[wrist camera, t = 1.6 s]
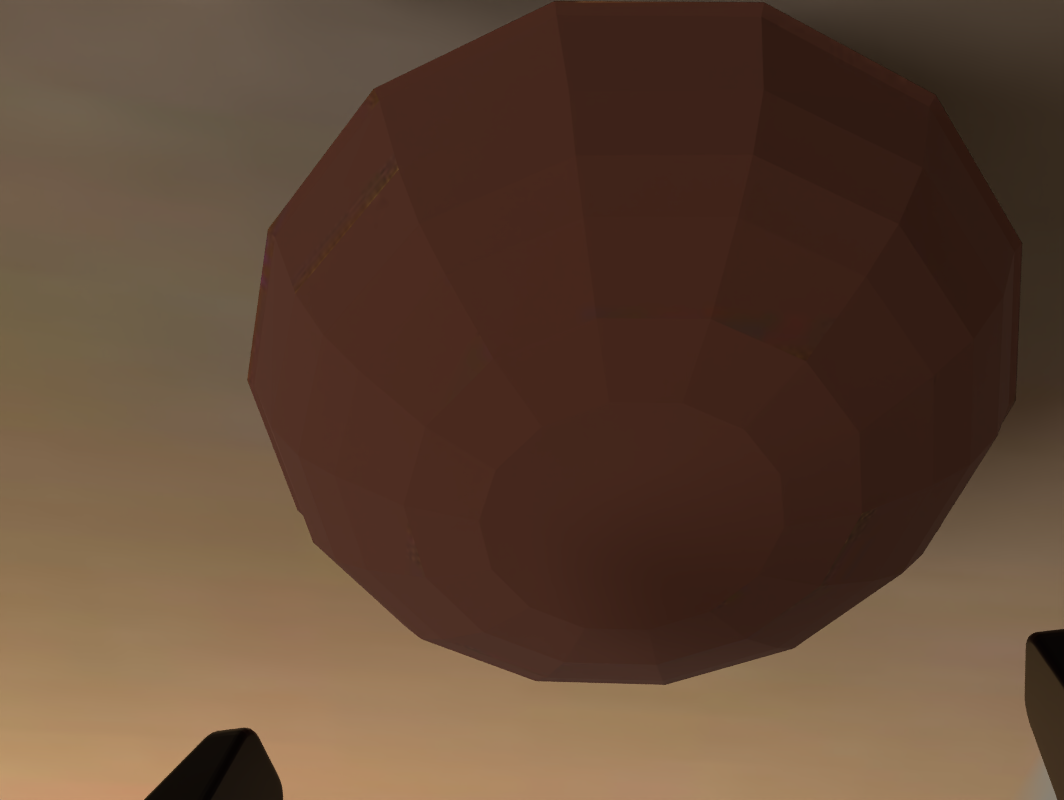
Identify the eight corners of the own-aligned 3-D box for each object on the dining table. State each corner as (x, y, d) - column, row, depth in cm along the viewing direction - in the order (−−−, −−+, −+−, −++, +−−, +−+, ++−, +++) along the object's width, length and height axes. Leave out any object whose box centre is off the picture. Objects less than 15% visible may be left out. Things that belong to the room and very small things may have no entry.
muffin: (813, -171, 17) (1038, -185, 8) (962, 356, 22) (1205, 699, 13) (241, 113, 20) (-33, 322, 11) (481, 521, 25) (419, 889, 16)
